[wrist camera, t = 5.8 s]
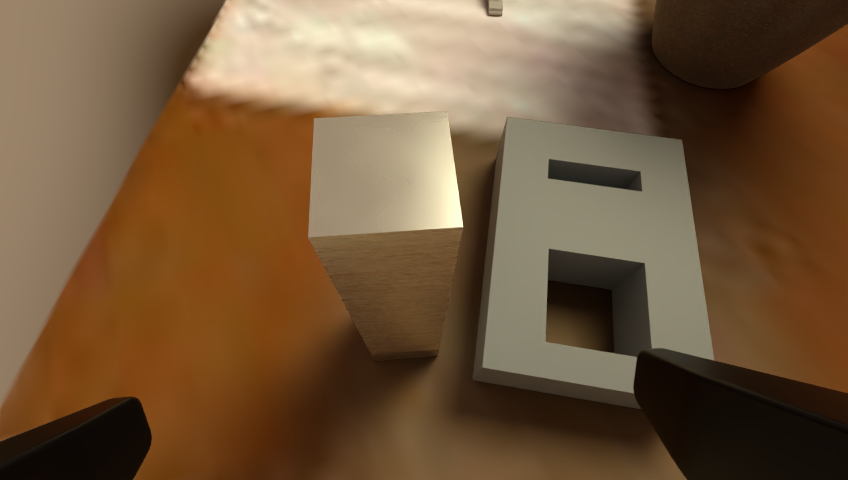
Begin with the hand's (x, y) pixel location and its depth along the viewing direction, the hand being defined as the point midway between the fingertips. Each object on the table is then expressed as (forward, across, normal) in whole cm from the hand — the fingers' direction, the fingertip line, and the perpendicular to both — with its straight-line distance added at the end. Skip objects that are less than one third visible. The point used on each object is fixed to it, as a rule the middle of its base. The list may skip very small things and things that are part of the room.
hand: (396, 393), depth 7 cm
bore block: (+13, +9, -4) cm, 17 cm away
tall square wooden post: (+12, 0, -6) cm, 13 cm away
